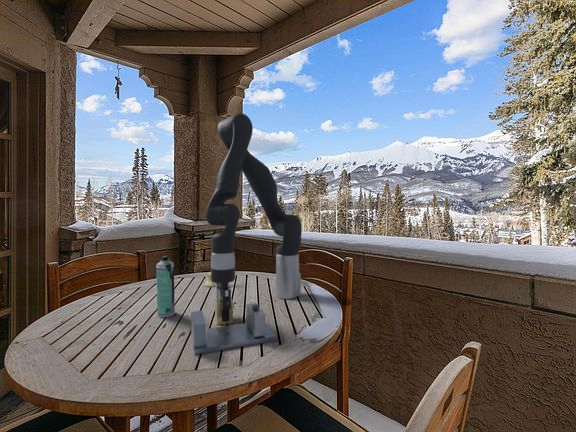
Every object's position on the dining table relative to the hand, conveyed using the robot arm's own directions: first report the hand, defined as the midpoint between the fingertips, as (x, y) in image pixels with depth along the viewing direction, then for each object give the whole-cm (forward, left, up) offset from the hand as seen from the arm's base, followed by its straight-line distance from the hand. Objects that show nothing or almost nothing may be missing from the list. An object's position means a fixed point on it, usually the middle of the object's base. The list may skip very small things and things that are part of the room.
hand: (223, 316), depth 98 cm
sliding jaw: (-7, +13, 0) cm, 15 cm away
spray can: (+17, -13, -2) cm, 22 cm away
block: (0, 0, -2) cm, 2 cm away
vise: (-1, +13, -1) cm, 13 cm away
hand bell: (-3, -45, -2) cm, 45 cm away
